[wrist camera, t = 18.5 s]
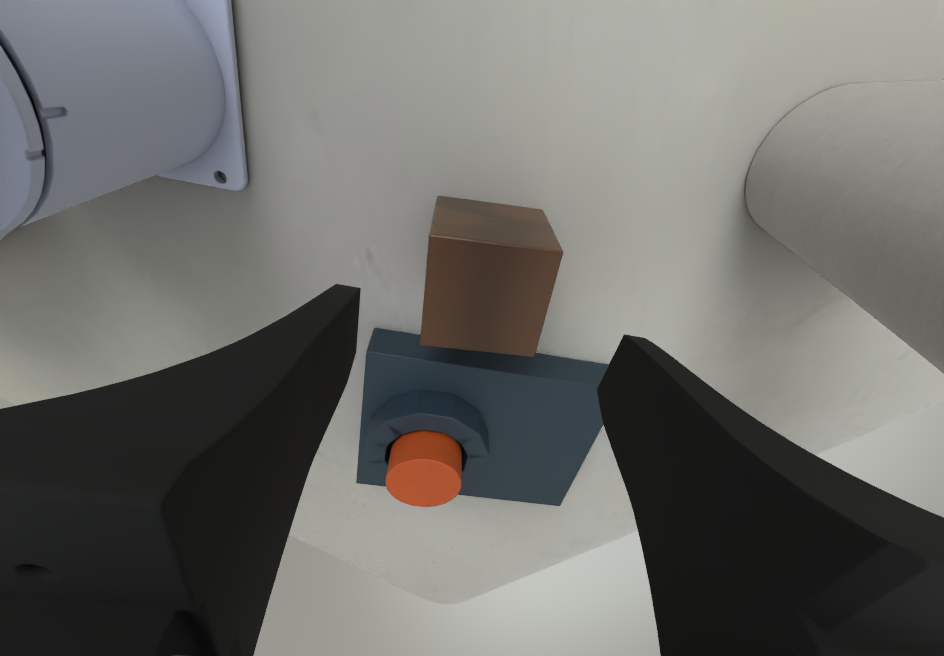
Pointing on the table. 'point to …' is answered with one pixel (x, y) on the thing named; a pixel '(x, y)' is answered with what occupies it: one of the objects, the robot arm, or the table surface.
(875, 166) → the coffee cup
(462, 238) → the walnut block
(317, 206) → the table surface
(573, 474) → the grey base slab
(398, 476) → the lid button
